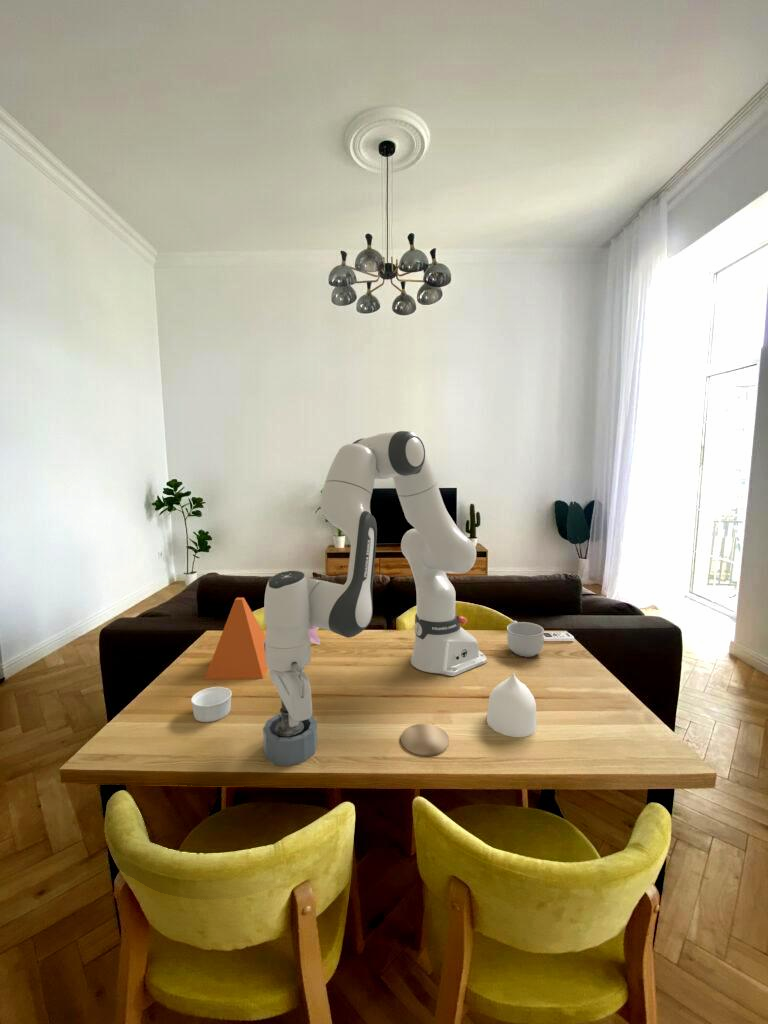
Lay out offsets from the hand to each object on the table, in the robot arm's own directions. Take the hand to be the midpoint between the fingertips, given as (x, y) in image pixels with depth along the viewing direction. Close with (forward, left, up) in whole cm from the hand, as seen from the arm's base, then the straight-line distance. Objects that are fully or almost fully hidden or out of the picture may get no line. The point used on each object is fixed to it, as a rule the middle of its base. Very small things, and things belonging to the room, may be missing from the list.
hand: (289, 718), depth 91 cm
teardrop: (-47, +13, -7) cm, 49 cm away
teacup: (-77, -15, -7) cm, 79 cm away
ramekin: (+13, -21, -7) cm, 26 cm away
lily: (-18, -51, -7) cm, 54 cm away
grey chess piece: (0, 0, -6) cm, 6 cm away
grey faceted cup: (0, 0, -6) cm, 6 cm away
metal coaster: (-26, +10, -6) cm, 29 cm away
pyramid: (+3, -43, -7) cm, 44 cm away
